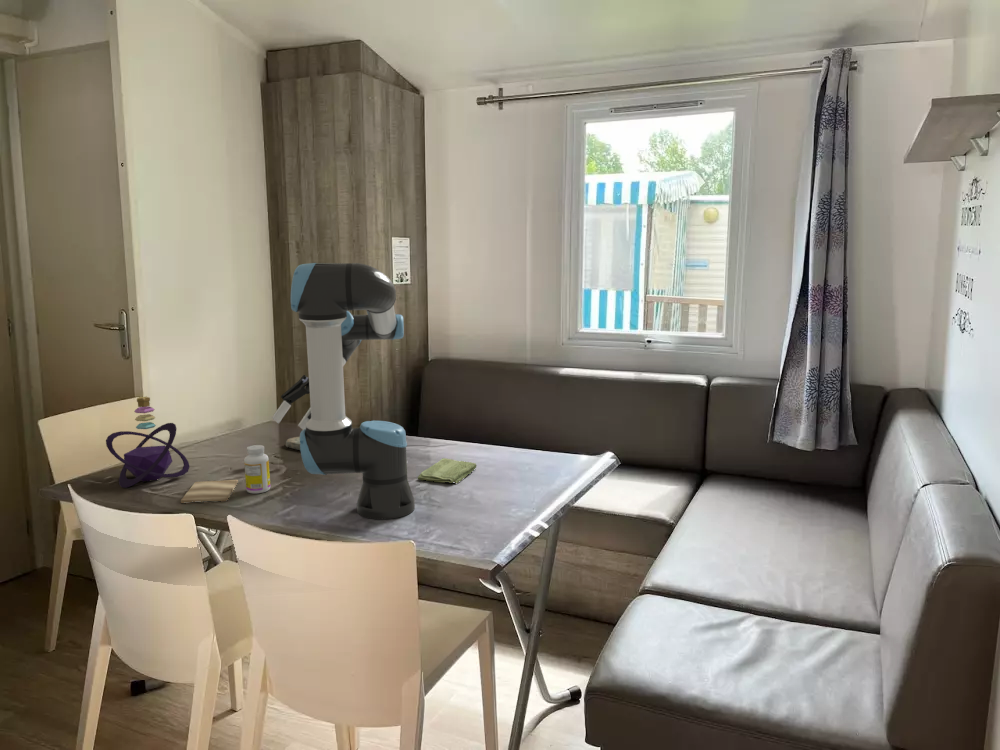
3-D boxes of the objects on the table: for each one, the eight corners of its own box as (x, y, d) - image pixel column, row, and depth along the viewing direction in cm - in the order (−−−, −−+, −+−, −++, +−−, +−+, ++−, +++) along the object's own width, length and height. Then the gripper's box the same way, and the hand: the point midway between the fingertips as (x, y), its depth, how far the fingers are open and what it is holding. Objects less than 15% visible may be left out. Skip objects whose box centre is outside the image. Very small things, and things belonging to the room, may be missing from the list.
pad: (227, 501, 202) (227, 497, 202) (181, 503, 200) (180, 500, 200) (238, 482, 217) (238, 479, 217) (195, 485, 215) (195, 481, 215)
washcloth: (415, 482, 219) (415, 471, 218) (442, 465, 235) (442, 456, 234) (455, 487, 214) (455, 477, 213) (480, 470, 230) (480, 460, 229)
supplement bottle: (262, 485, 215) (259, 442, 213) (275, 489, 211) (272, 446, 209) (241, 491, 210) (238, 447, 208) (254, 495, 206) (251, 451, 204)
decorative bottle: (100, 478, 222) (92, 397, 218) (171, 463, 237) (164, 387, 233) (127, 495, 207) (118, 408, 202) (200, 478, 221) (194, 397, 217)
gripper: (361, 379, 219) (321, 438, 210) (311, 369, 235) (273, 424, 227) (345, 364, 214) (304, 424, 206) (296, 355, 230) (256, 410, 222)
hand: (288, 424), depth 216 cm, fingers open, 13 cm apart
